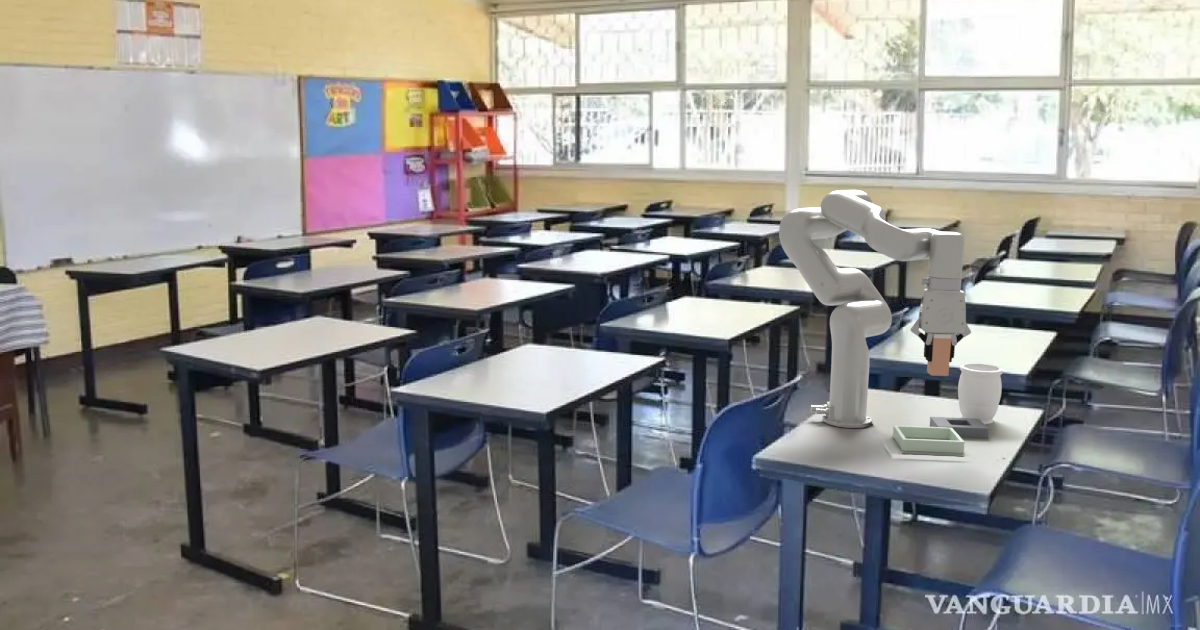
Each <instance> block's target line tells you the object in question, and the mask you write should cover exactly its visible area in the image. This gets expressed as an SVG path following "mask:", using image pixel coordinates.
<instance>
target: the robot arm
mask: <svg viewBox="0 0 1200 630" xmlns="http://www.w3.org/2000/svg"><path fill="white" fill-rule="evenodd" d="M778 230H779V231H778V235H779V236H778V237H779V242H780V246H781V248H782V249H783V251H784V253H785V254H786V256H787V258H789V260H790V261H791V262H792V264H794V266H795V268H797V270H798V272H799V273H800V275H801V276H802V278H803V279H804V281H805V282H806V284H807V285H808V287H809V289H810V290H811V291H812V293H813V295H814V296H815V297H816V299H818V301H819V302H820V303H821V304H822V305H825V306H836V307H835V308H834V309H833V310H832V312H831V314H830V317H829V329H830V334H831V337H830V338H831V365H830V367H831V368H830V383H829V384H830V386H829V387H830V388H829V400H828V401H826V404H822V405H817V404H810V412H811V413H814V414H815V413H816V415H821V416H822V419H821V420H822V422H824V423H825V424H827V425H830V426H834V427H839V428H846V429H861V428H862V429H863V428H866V427H870V426H871V425H872V424H873V419H872V417H870V416H869V415H867V412H868V411H867V408H868V407H867V406H868V396H869V395H868V394H869V392H868V391H869V376H870V361H871V360H870V358H871V357H870V350H869V347H868V344H867V340H866V339H867V338H870V337H875V336H876V337H877V336H879V335H883V334H884V333H886V332H887V331H888V330H889V329H890V327H891V326H892V321H893V317H892V312H891V311H892V310H891V308H890V307H889V304H888V303H887V302H886V300H885V299H884V298H883V296H882V295H881V293H880V292H879V291H878V289H877V288H876V287H875V285H874V283H873V282H872V281H871V279H870V277H868V275H867V274H866V273H865V272H863V271H862V270H861V269H859V268H855V267H841V268H840V267H838V266H837V265H835V264H836V263H834V262H833V261H832V259H831V258H830V256H829V254H828V253H827V252H826V251H825V250H824V249H823V248H822V247H820V246H819V245H818V244H816V243H815V242H814V241H813V240H823V239H824V240H825V239H830V238H833V237H836V236H839V235H841V234H842V233H844V232H847V231H849V232H851V233H853V234H856V235H858V236H859V237H861V238H863V239H864V242H866V243H867V245H868V247H870V248H871V249H873V250H874V251H876V252H878V253H880V254H882V255H883V256H886V257H888V258H889V259H892V260H894V261H895V260H896V261H899V262H910V261H911V262H912V261H922V260H924V261H925V260H928V271H927V275H926V278H922V279H921V281H920V283H921V285H922V286H925V287H926V288H924V289H923V292H922V296H921V300H920V301H921V302H920V305H919V311H918V319H917V320H916V321H915V322H914V324H913V325H912V327H911V328H910V332H912V333H913V334H914V335H916V336H917V337H918V338H919V339H920V341H922V342H923V343H924V347H923V357H924V358H925V360H926V361H927V363H928V362H931V361H932V350H933V346H932V345H931V344H932V342H931V341H932V337H933V334H934V333H947V334H952V335H951V348H950V362H949V363H952V362H953V359H954V358H955V349H956V346H957V345H958V343H959V342H961V341H962V340H963V339H964V338H966V337H967V336H969V335H970V334H972V331H971V329H970V327H969V325H968V324H967V320H966V319H967V317H966V315H967V314H966V313H967V312H966V311H967V307H966V294H965V291H963V290H961V288H962V276H963V275H962V274H963V264H964V250H965V249H964V248H965V236H964V235H963V234H962V233H960V232H956V231H941V230H937V229H934V228H926V227H922V228H921V227H920V228H905V229H904V228H900V227H898V226H895V225H893V224H891V223H889V222H887V221H886V213H885V210H884V209H883V208H882V207H881V206H879V205H876V204H874V203H873V200H872V198H871V197H870V196H869V194H867V193H866V192H865V191H862V190H859V189H839V190H838V189H837V190H834V191H833V190H832V191H831V192H829V193H827V194H825V195H824V197H823V198H822V200H821V202H820V207H819V206H818V207H817V206H816V207H801V208H800V207H799V208H795V209H792V210H790V211H788V212H786V213H785V214H784V216H782V218H781V221H780V223H779V228H778ZM920 330H922V331H923V332H924V333H923V332H922V331H920Z"/></svg>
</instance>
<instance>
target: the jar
mask: <svg viewBox="0 0 1200 630" xmlns="http://www.w3.org/2000/svg"><path fill="white" fill-rule="evenodd" d="M959 370H960V371H961V373H960V376H959V378H958V379H959V380H958V385H957V397H958V398H957V399H958V406H959V411H960V414H961V417H960V418H975V419H980V420H981V421H982V422H983V423H984V424H985V425H988V424H992V423H994V422H995V421H994V417H995V416H996V414H997V412H998V410H999V403H1000V401H1001V398H1002V389H1003V388H1002V387H1003V385H1002V378H1001V375H1003V373H1004V369H1003V368H1002V367H999V366H997V365H991V364H984V363H964V364H961V365H959Z"/></svg>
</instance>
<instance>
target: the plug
mask: <svg viewBox="0 0 1200 630" xmlns="http://www.w3.org/2000/svg"><path fill="white" fill-rule="evenodd" d="M951 335H952V334H947V333H934V334H933V337H932V341H931V342H932V344H931V345H932V346H933V350H932V361H931V362H928V361H927V365H926V366H927V367H926V372H927V373H928V374H929V375H930V376H934V377H937V376H938V377H943V376H944V377H948V376H949V373H950V363H951V362H950V348H951Z"/></svg>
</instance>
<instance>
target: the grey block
mask: <svg viewBox="0 0 1200 630" xmlns="http://www.w3.org/2000/svg"><path fill="white" fill-rule="evenodd" d="M929 427H947V428H953V429H954V431H955V432H956V433H957V434H958V435H959V436H960V437H961V438H962V439H963V438H964V439H965V438H967V439H968V438H969V439H989V430H990V428H989V427H988V426H987V424H984V423H983V422H982V421H981V420H980V419H975V418H961V417H945V416H930V417H929Z"/></svg>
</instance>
